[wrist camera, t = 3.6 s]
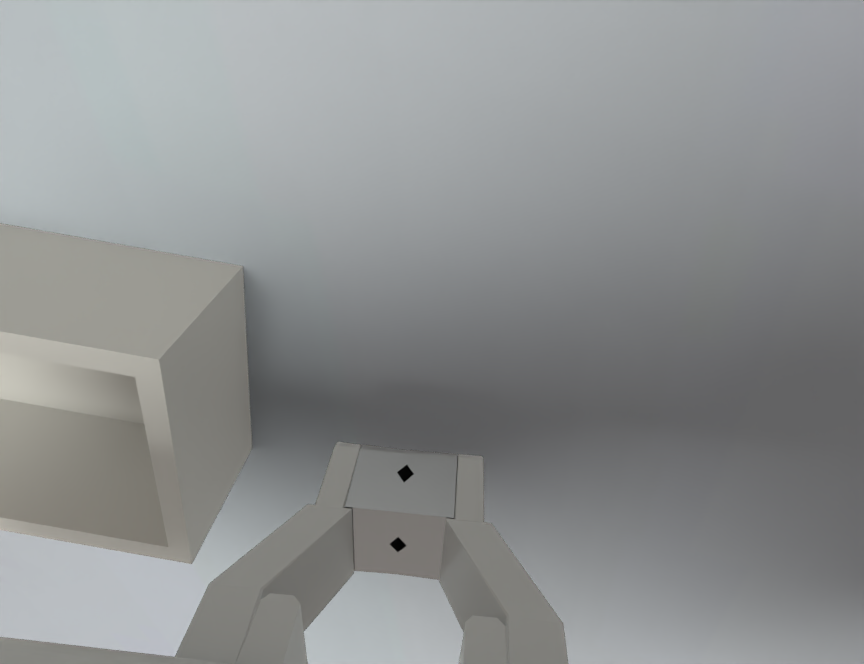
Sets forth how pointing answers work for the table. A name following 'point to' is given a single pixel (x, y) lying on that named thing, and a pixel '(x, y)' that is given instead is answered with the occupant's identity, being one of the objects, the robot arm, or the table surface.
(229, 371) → the white drawer
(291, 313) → the table surface
